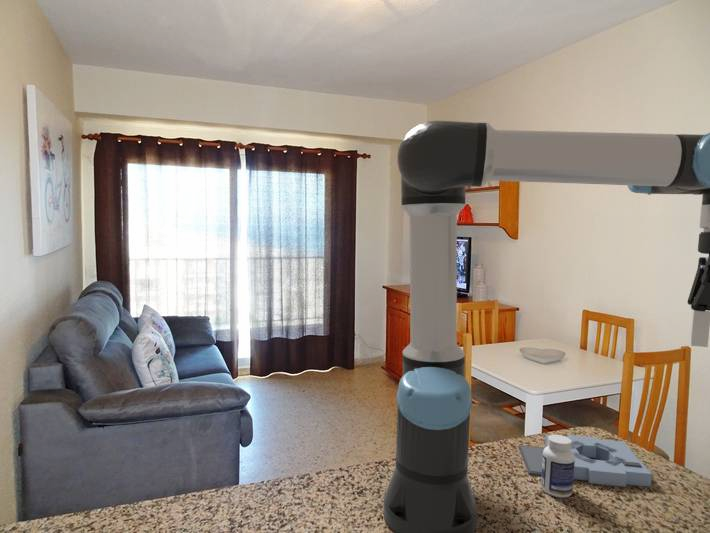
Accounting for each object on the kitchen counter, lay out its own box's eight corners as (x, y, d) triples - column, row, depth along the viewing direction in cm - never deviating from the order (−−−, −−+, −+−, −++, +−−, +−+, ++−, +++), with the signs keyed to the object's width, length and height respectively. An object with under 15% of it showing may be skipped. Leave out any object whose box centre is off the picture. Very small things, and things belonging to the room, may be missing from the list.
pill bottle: (579, 493, 89) (582, 441, 88) (559, 501, 86) (563, 448, 85) (553, 480, 93) (556, 430, 92) (534, 487, 91) (537, 436, 90)
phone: (560, 480, 94) (561, 475, 94) (528, 477, 95) (528, 472, 95) (546, 452, 106) (547, 447, 106) (518, 449, 107) (518, 444, 107)
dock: (562, 480, 93) (563, 466, 93) (544, 443, 109) (544, 431, 109) (653, 489, 91) (654, 475, 90) (621, 450, 106) (621, 438, 106)
